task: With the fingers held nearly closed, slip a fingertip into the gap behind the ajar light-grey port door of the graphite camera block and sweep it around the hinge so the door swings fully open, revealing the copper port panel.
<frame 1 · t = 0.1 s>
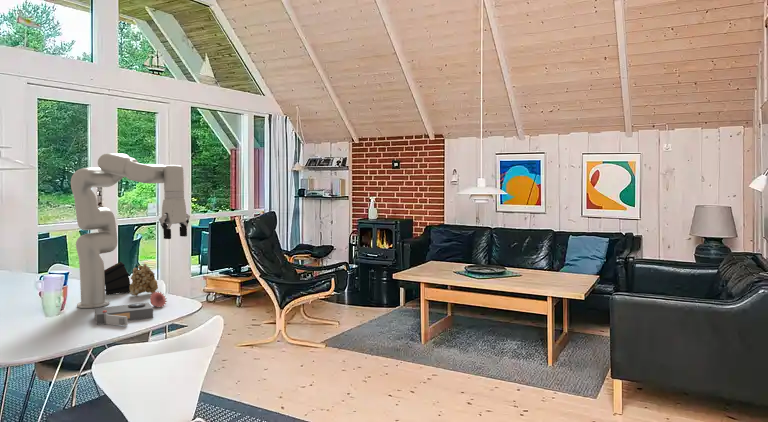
hand: (175, 237, 231), 31 cm above the table, tool pointing down, fingers open, 9 cm apart
port door: (115, 320, 214), point 2 cm above the table, hinge at 50.0°
flower: (158, 306, 245), on the table
black ridged block: (115, 293, 273), on the table
mineral formation: (144, 295, 269), on the table
camera body: (123, 317, 225), on the table
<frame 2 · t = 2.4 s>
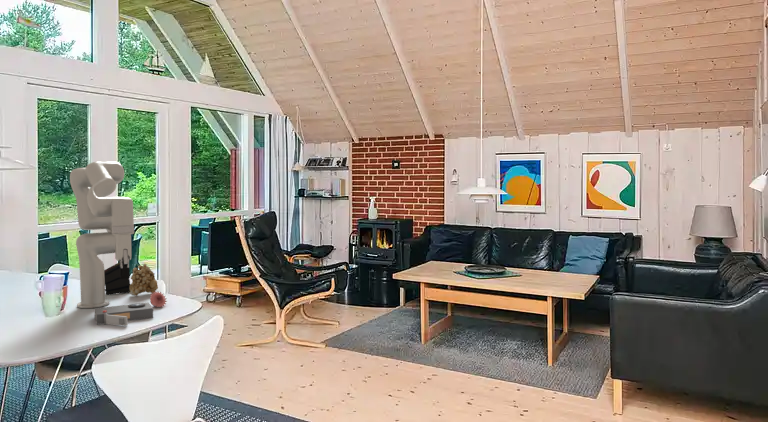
hand: (125, 278, 215), 18 cm above the table, tool pointing down, fingers closed
nothing on the table moved.
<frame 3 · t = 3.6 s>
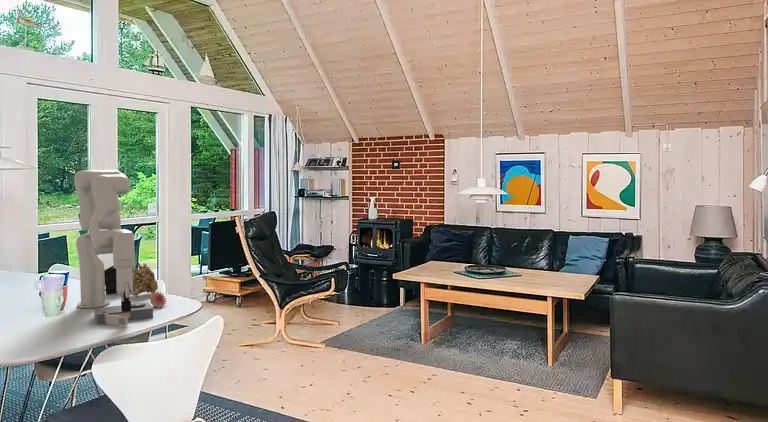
hand: (126, 311, 216), 5 cm above the table, tool pointing down, fingers closed
nothing on the table moved.
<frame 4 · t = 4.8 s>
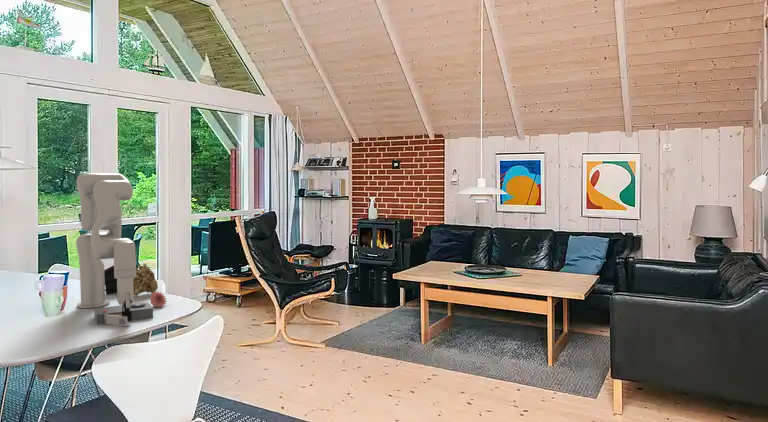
hand: (126, 321, 215), 1 cm above the table, tool pointing down, fingers closed
port door: (115, 320, 214), point 2 cm above the table, hinge at 50.3°, touching gripper
everything else where it was.
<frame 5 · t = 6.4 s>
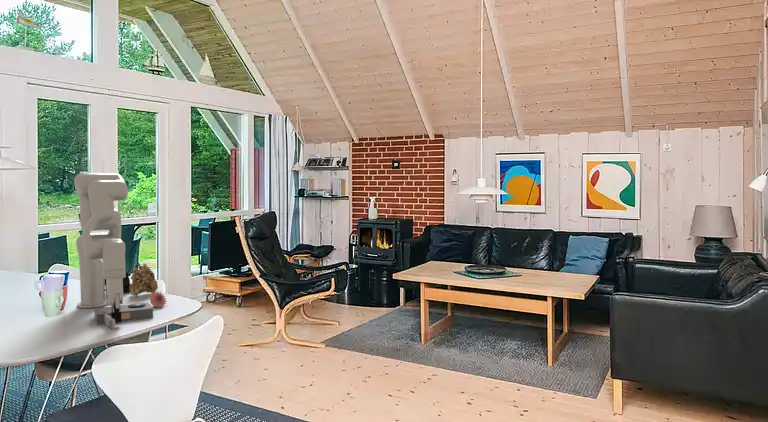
hand: (116, 322, 212), 2 cm above the table, tool pointing down, fingers closed
port door: (109, 321, 212), point 2 cm above the table, hinge at 78.8°, touching gripper
everything else where it was.
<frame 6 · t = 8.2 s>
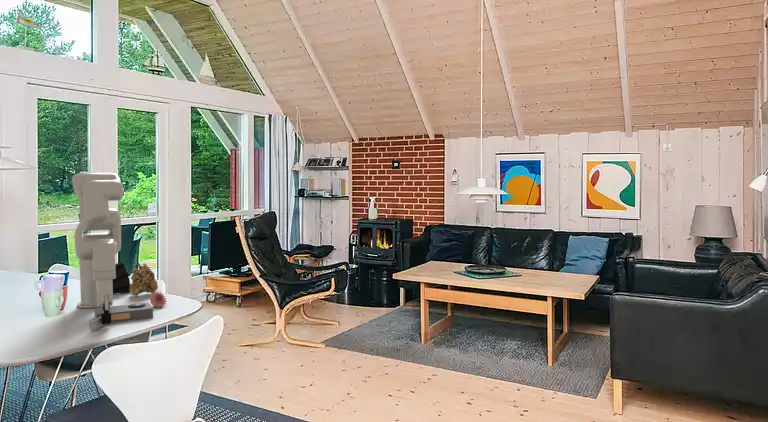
hand: (106, 323, 211), 1 cm above the table, tool pointing down, fingers closed
port door: (99, 322, 211), point 2 cm above the table, hinge at 121.0°
everything else where it was.
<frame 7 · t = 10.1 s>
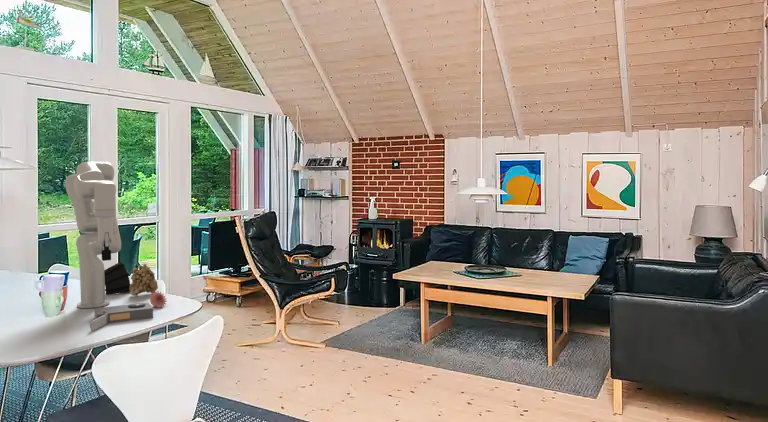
hand: (106, 259, 223), 23 cm above the table, tool pointing down, fingers closed
nothing on the table moved.
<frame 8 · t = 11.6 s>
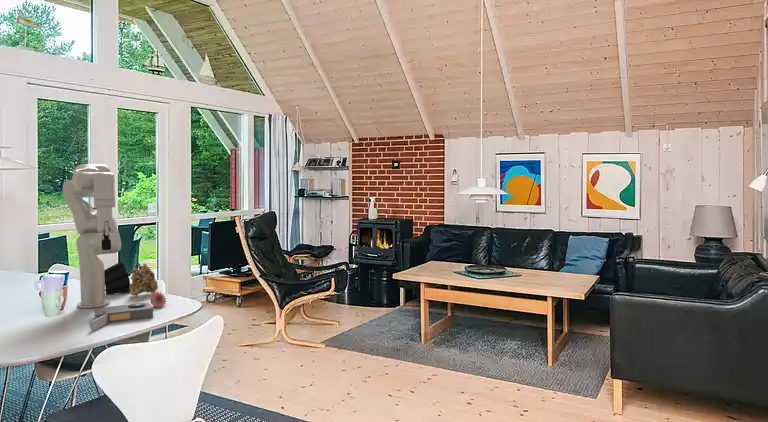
hand: (106, 249, 225), 27 cm above the table, tool pointing down, fingers closed
nothing on the table moved.
at the end: port door at +121° (first picture: +50°); port door touching nothing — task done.
